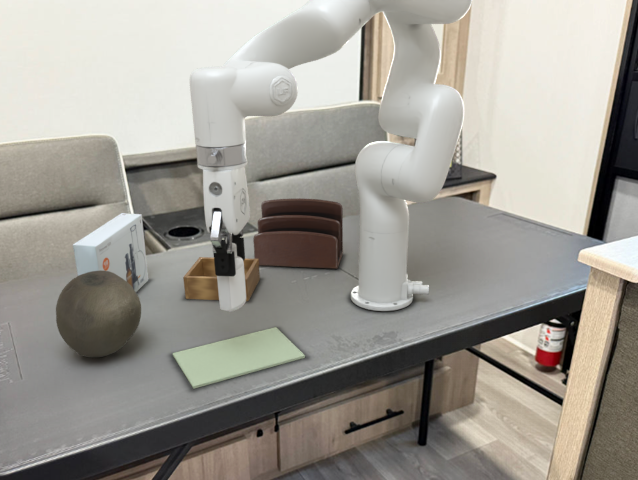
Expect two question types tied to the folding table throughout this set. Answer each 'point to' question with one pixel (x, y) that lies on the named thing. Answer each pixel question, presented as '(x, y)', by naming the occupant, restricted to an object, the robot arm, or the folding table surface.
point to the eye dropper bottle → (232, 286)
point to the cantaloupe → (97, 313)
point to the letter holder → (300, 233)
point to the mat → (236, 357)
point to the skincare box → (115, 250)
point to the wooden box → (204, 280)
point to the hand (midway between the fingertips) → (230, 266)
